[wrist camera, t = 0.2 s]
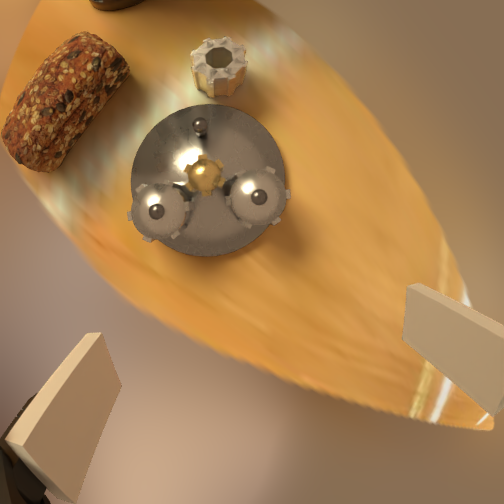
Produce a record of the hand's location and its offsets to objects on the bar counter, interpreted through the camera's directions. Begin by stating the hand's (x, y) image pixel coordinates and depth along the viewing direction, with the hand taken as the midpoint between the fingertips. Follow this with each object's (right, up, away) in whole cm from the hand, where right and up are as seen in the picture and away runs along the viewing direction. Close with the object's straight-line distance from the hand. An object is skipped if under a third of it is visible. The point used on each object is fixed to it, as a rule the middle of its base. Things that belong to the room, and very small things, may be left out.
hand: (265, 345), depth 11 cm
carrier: (-6, +13, +25) cm, 29 cm away
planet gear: (-5, +28, +22) cm, 36 cm away
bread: (-27, +25, +21) cm, 42 cm away
